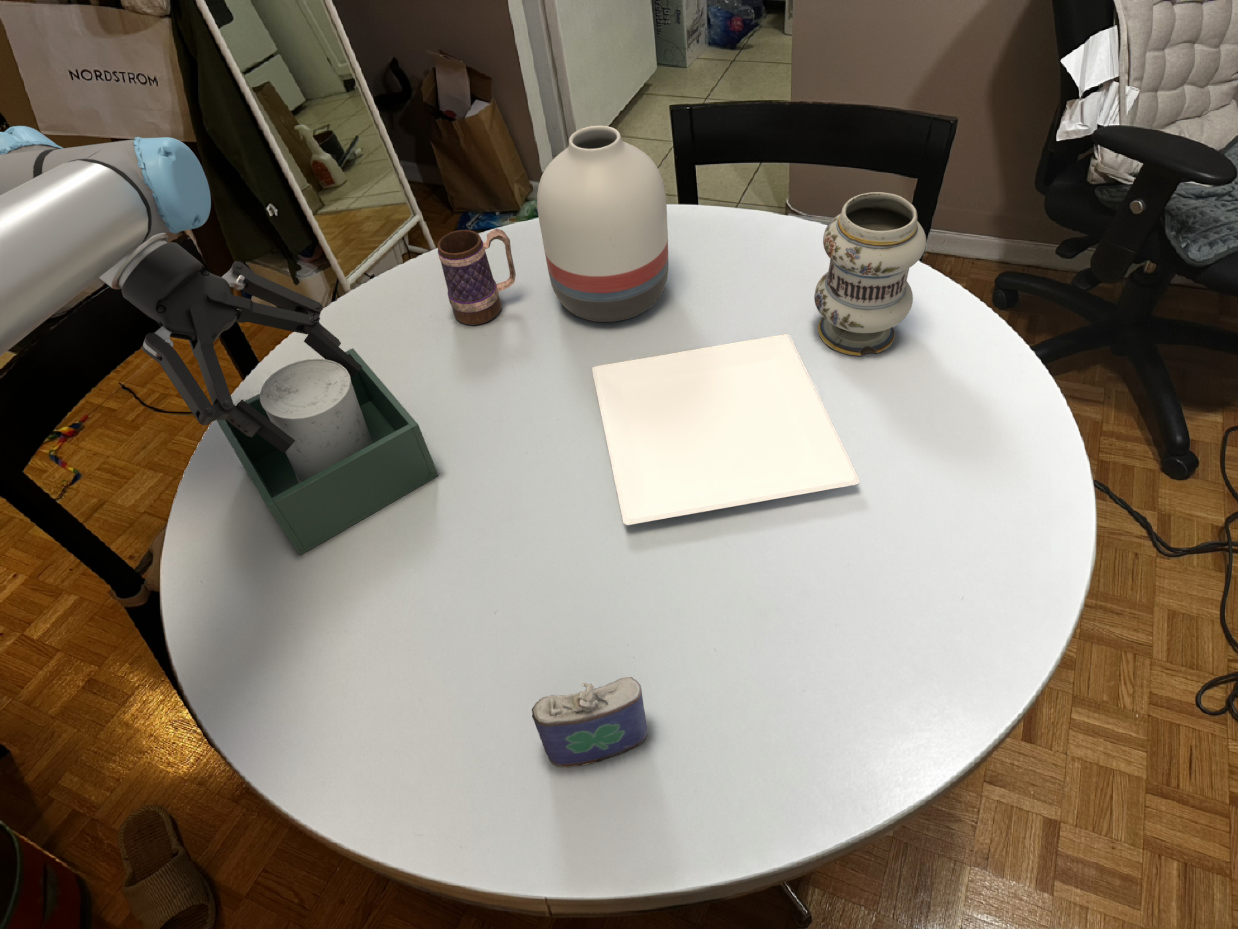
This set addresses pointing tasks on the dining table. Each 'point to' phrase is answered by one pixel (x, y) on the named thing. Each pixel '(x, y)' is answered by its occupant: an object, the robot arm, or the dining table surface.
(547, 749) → the flask
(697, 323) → the dining table surface
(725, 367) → the white flat square slab
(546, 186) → the vase
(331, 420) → the white speckled cylinder
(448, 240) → the mug
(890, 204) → the apothecary jar
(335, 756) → the dining table surface
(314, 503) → the bin
